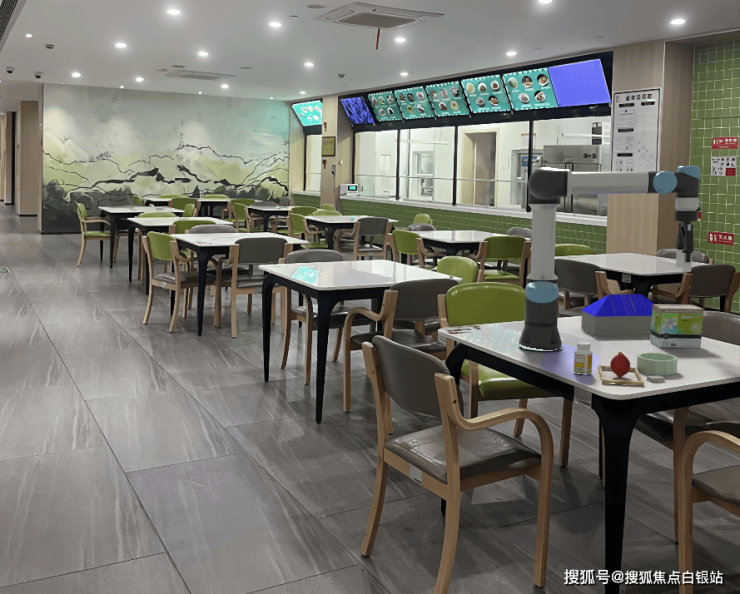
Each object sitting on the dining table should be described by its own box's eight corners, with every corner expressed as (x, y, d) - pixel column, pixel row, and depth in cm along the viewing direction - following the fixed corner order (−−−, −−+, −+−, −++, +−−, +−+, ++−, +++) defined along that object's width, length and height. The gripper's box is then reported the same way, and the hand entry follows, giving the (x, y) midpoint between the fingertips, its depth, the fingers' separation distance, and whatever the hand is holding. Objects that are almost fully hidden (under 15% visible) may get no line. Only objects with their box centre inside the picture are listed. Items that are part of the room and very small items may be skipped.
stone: (652, 383, 215) (652, 378, 215) (646, 381, 218) (646, 376, 218) (664, 382, 216) (664, 378, 215) (658, 380, 219) (658, 375, 218)
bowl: (639, 374, 224) (639, 359, 224) (634, 365, 236) (635, 351, 235) (679, 376, 222) (680, 361, 221) (673, 367, 233) (673, 353, 232)
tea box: (659, 348, 261) (661, 308, 258) (649, 342, 270) (651, 303, 268) (701, 348, 260) (704, 308, 258) (690, 342, 270) (692, 303, 268)
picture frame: (602, 384, 213) (602, 380, 213) (597, 369, 231) (597, 365, 231) (643, 386, 211) (643, 382, 210) (636, 370, 228) (636, 367, 228)
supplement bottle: (588, 371, 229) (589, 341, 227) (594, 375, 223) (595, 344, 222) (571, 371, 228) (572, 341, 227) (576, 375, 223) (577, 344, 222)
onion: (614, 373, 225) (615, 348, 224) (632, 376, 221) (633, 351, 220) (606, 377, 221) (607, 351, 219) (625, 380, 217) (626, 354, 216)
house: (639, 328, 299) (641, 290, 297) (657, 336, 283) (659, 296, 281) (580, 329, 298) (581, 291, 296) (594, 337, 282) (595, 297, 280)
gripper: (705, 211, 244) (701, 273, 247) (691, 209, 268) (688, 266, 271) (681, 211, 246) (678, 273, 249) (669, 209, 270) (666, 265, 273)
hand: (683, 269), depth 260 cm, fingers open, 13 cm apart
